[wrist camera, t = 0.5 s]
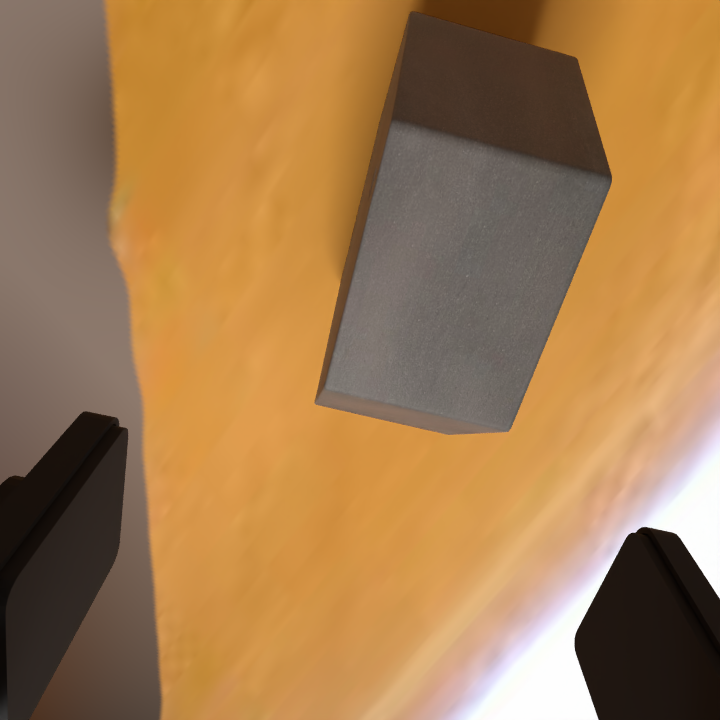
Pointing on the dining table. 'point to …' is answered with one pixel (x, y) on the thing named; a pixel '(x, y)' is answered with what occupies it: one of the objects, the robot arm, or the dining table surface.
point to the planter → (464, 231)
